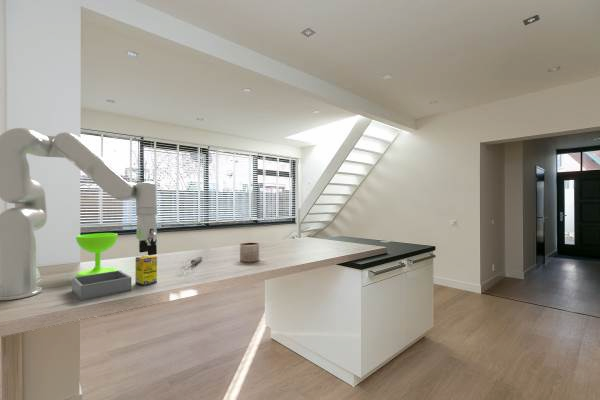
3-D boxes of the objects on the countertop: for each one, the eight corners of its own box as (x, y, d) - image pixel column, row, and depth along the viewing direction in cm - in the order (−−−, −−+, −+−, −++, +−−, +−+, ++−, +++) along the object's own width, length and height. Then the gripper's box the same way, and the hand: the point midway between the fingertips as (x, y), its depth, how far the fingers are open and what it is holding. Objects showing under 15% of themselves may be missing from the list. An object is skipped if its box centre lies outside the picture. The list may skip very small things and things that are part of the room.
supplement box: (143, 286, 114) (143, 258, 114) (135, 283, 118) (135, 257, 118) (157, 282, 119) (157, 256, 119) (149, 280, 123) (149, 254, 123)
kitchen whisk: (206, 259, 166) (206, 248, 166) (190, 275, 133) (190, 261, 132) (195, 259, 165) (195, 249, 165) (176, 275, 132) (176, 262, 132)
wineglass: (109, 268, 145) (109, 232, 145) (124, 272, 136) (124, 234, 136) (70, 274, 132) (70, 235, 132) (83, 280, 123) (83, 238, 123)
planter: (263, 259, 164) (263, 243, 164) (250, 263, 155) (250, 245, 155) (248, 257, 170) (248, 241, 170) (235, 261, 161) (235, 244, 161)
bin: (80, 300, 98) (80, 286, 98) (72, 290, 109) (72, 277, 109) (131, 290, 109) (131, 277, 109) (119, 282, 120) (119, 270, 120)
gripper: (129, 212, 122) (131, 252, 122) (144, 212, 110) (145, 257, 110) (148, 211, 127) (149, 249, 127) (164, 211, 115) (165, 254, 115)
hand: (147, 253), depth 119 cm, fingers open, 9 cm apart
